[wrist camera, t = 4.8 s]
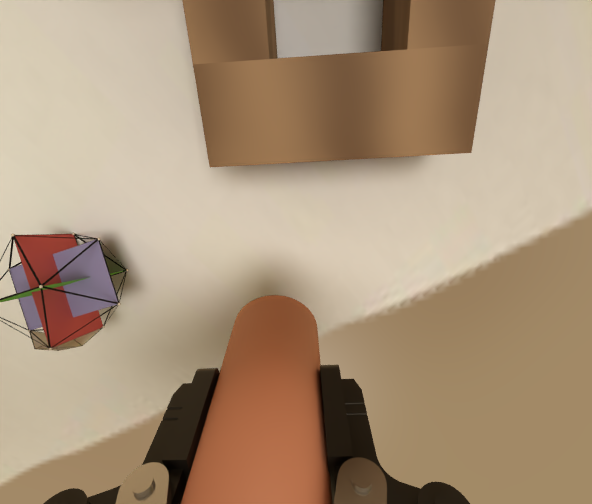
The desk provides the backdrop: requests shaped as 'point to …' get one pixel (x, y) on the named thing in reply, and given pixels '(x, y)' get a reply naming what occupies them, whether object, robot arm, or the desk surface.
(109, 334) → the desk surface
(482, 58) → the socket block
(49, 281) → the geometric puzzle
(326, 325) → the desk surface
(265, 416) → the peg
